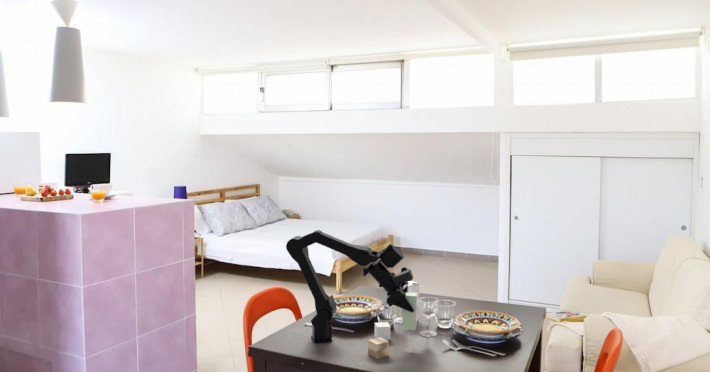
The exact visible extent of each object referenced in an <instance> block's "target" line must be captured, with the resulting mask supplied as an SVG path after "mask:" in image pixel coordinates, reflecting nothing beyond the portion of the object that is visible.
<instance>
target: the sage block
mask: <svg viewBox="0 0 710 372" xmlns="http://www.w3.org/2000/svg"><path fill="white" fill-rule="evenodd" d="M404 293H405V292H404ZM406 299H407V300H408V302H409V303H410V304H411V306H412V307H413V309H414V312H409V311H407V310H405V309H402V330H405V331H407V330H408V331H416V329H417V322H418V320H417V318H418V306H417V293H411V292H406Z"/></svg>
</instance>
